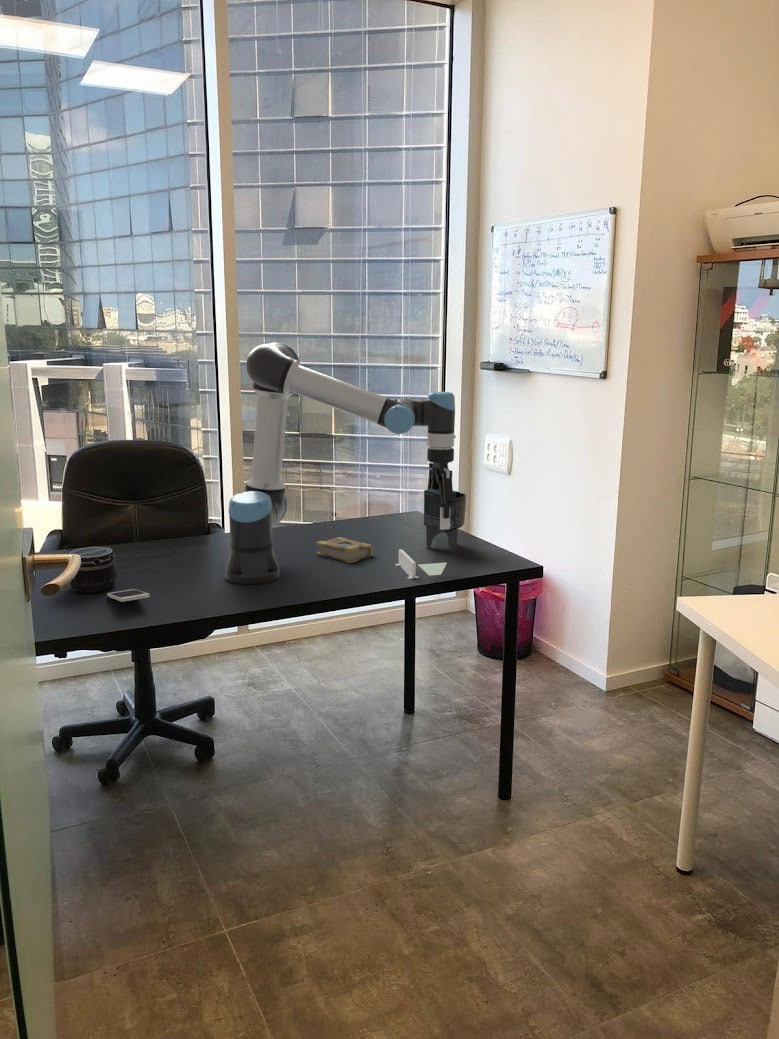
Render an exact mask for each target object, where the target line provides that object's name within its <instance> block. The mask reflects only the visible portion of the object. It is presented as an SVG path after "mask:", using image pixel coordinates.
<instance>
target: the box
mask: <svg viewBox="0 0 779 1039" xmlns="http://www.w3.org/2000/svg"><path fill="white" fill-rule="evenodd" d="M454 491H455V490H453V506H451V507H450V528H455V526H456V492H454ZM447 502H448V501H447ZM440 505H442V504H441V497H440V489H439V488H436V489H428V490H427V489H424V490H423V526H425V527H426V526H429V527H433V528H436V529H440V507H439V506H440ZM440 530H441V529H440ZM443 530H445V529H443Z"/></svg>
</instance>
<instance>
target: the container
mask: <svg viewBox="0 0 779 1039" xmlns="http://www.w3.org/2000/svg"><path fill="white" fill-rule="evenodd" d="M68 554H78V555H80V556H81V566H80V568H79V571H78V573H77V575H76V576H75V578H74V579H73V580H72V581H71V583H69V584H70V587H71V589H73V590H75V591H78V592H77V593H79V592H83V593H82V594H90V593H99V592H104V591H108V590H110V589H112V588H114V587H115V585H116V584H115V583H116V578H117V576H118V574H117V571H116V568H115V562H116V561H115V558H116V553H115V552H114V551H113V549H112V548H110V547H104V546H89V547H88V546H87V547H82V548H81V547H80V548H77V549H73V550H71V551H69V553H68ZM73 590H72V591H73ZM75 591H74V592H75Z"/></svg>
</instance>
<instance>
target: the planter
mask: <svg viewBox="0 0 779 1039" xmlns="http://www.w3.org/2000/svg"><path fill="white" fill-rule="evenodd" d="M453 491H454V492H456V526H455V528H450V529H445V530H440V529H436V528H433V527H429V526H425V539H426V540H425V542H426V545H425V546H426V549H428V550H430V549H431V548H432V543H433V541H434V538H435V537H436V536H437V535H438V534H440V533H443V532H444V533H445V534H446V536H447V540H448V545H450V551H451V552H452V553H456V552H457V551H458V535H459V532H458V531H459V529H461V528H462V527H464V526H465V522H466V521H465V520H466V519H465V518H466V506H467V505H466V504H467V494H466V493H465V492H462V491H458V490H453Z"/></svg>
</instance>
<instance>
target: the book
mask: <svg viewBox="0 0 779 1039" xmlns="http://www.w3.org/2000/svg"><path fill="white" fill-rule="evenodd" d="M315 543H316V546H318V547H319V551H317V552H316V555H319V556H322V557H327V558H331V559H335V560H338V561H343V562H345V563H349V564H352V563H355V562H358V561H360V560H362V559H366V558H371V557H373V555H374V546H373V545H372V544H370V543H365V542H361V541H356V540H353V539H349V538H345V537H340V536H338V537H334V538H330V539H329V540H320V541H319V540H318V541H316V542H315Z"/></svg>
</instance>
